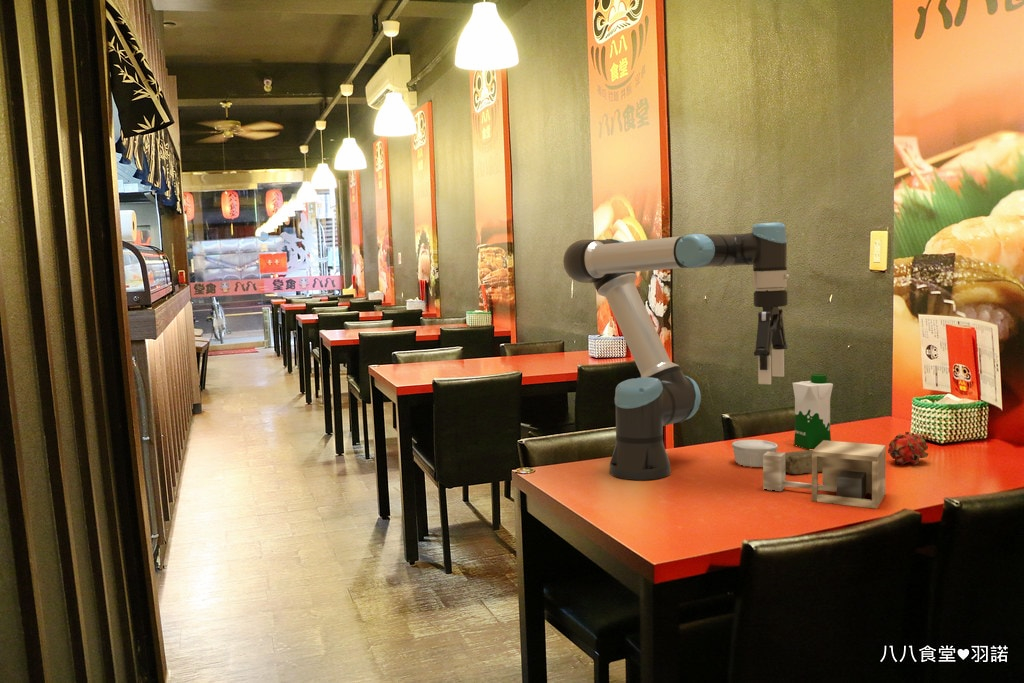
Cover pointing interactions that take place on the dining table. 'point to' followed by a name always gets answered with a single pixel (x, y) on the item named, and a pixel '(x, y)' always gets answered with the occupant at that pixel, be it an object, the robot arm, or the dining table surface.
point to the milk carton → (812, 411)
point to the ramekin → (752, 451)
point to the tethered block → (775, 480)
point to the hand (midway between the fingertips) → (771, 380)
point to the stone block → (801, 462)
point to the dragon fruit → (907, 448)
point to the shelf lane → (850, 459)
